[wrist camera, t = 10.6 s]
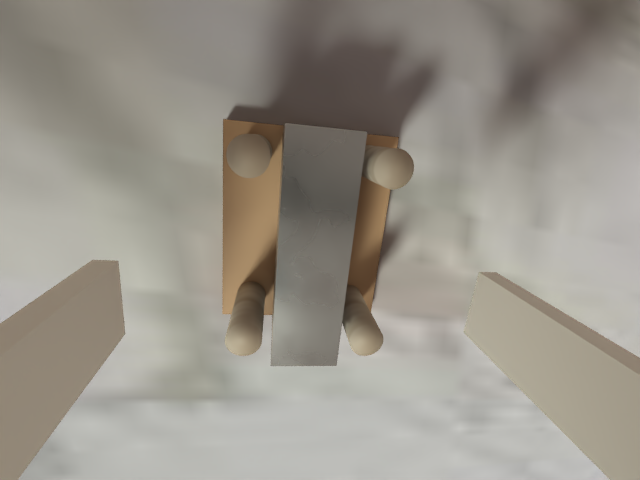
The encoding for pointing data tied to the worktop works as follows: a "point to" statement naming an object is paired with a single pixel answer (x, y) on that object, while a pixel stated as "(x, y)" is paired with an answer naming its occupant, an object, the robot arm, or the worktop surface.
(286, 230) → the bar
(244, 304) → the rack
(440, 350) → the worktop surface
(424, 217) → the worktop surface
